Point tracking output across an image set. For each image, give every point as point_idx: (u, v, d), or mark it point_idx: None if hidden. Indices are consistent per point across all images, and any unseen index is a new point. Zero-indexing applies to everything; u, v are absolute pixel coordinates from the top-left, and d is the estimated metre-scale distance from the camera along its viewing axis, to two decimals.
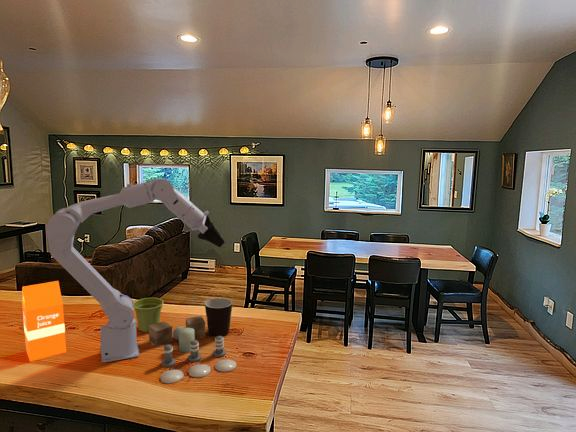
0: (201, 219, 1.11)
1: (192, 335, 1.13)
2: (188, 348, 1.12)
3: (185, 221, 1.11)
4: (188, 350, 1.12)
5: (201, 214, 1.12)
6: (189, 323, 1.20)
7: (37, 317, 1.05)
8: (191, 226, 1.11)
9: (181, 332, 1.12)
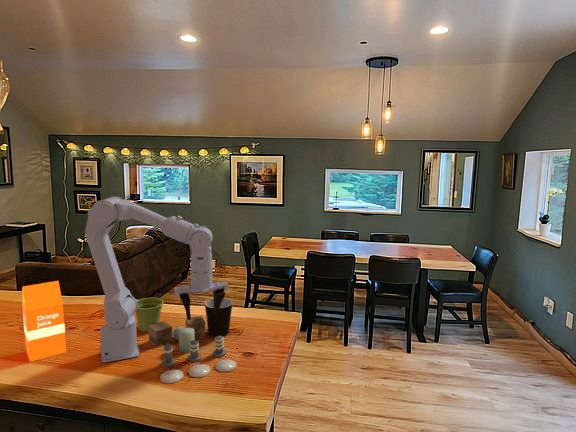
0: (193, 288, 1.08)
1: (192, 335, 1.13)
2: (188, 348, 1.12)
3: None
4: (188, 350, 1.12)
5: (197, 286, 1.07)
6: (189, 323, 1.20)
7: (37, 317, 1.05)
8: None
9: (181, 332, 1.12)
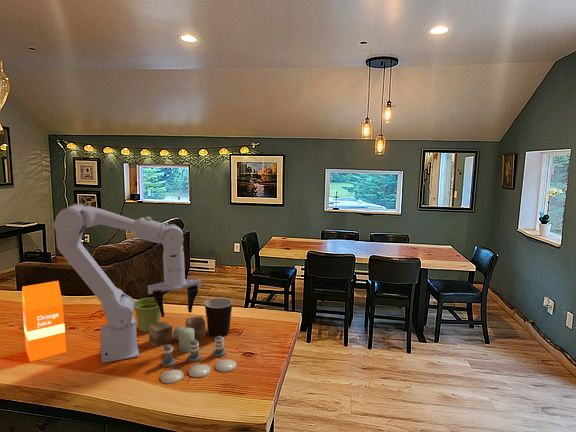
0: (165, 285, 1.10)
1: (192, 335, 1.13)
2: (188, 348, 1.12)
3: None
4: (188, 350, 1.12)
5: (169, 283, 1.09)
6: (189, 323, 1.20)
7: (37, 317, 1.05)
8: None
9: (181, 332, 1.13)
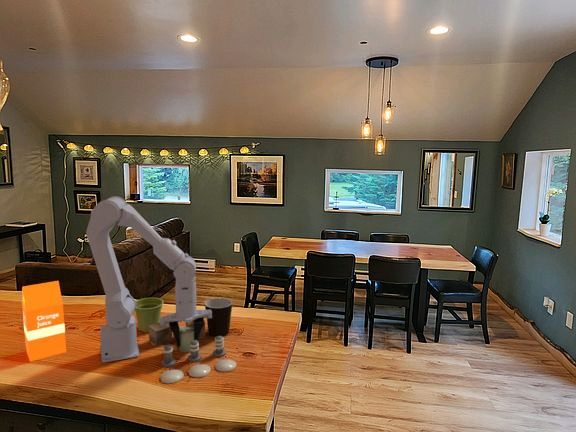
0: (177, 317, 1.10)
1: (192, 335, 1.13)
2: (188, 348, 1.12)
3: None
4: (188, 350, 1.12)
5: (181, 315, 1.10)
6: (189, 323, 1.20)
7: (37, 317, 1.05)
8: None
9: (181, 332, 1.12)
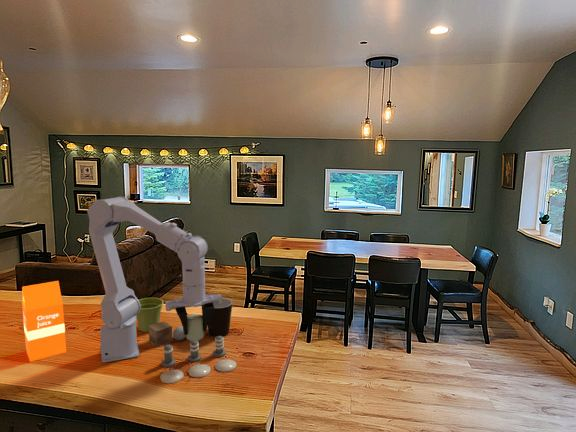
0: (185, 302, 1.02)
1: (201, 321, 1.04)
2: (197, 336, 1.04)
3: None
4: (197, 338, 1.04)
5: (189, 299, 1.01)
6: None
7: (37, 317, 1.05)
8: None
9: (189, 319, 1.04)
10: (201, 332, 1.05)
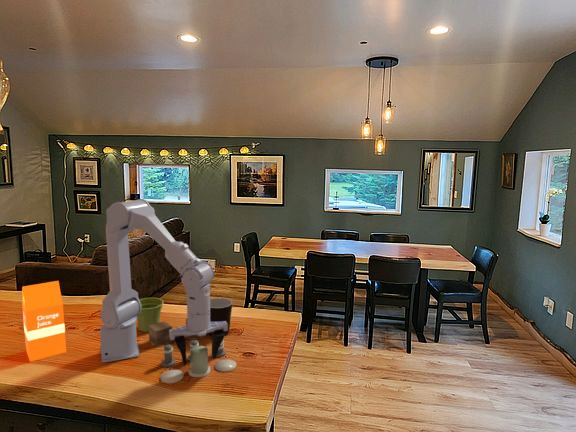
0: (189, 330, 0.98)
1: (206, 354, 1.01)
2: (201, 369, 1.01)
3: None
4: (201, 371, 1.01)
5: (194, 328, 0.98)
6: None
7: (37, 317, 1.05)
8: None
9: (193, 352, 1.01)
10: (206, 365, 1.02)
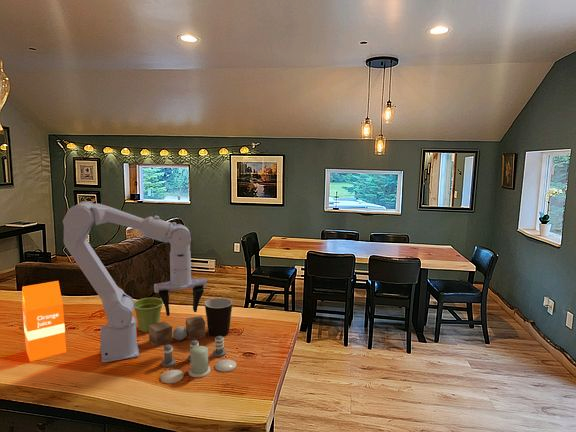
0: (172, 284, 1.10)
1: (206, 355, 1.01)
2: (201, 369, 1.01)
3: None
4: (201, 371, 1.01)
5: (176, 282, 1.10)
6: (189, 323, 1.20)
7: (37, 317, 1.05)
8: None
9: (193, 352, 1.01)
10: (206, 365, 1.02)
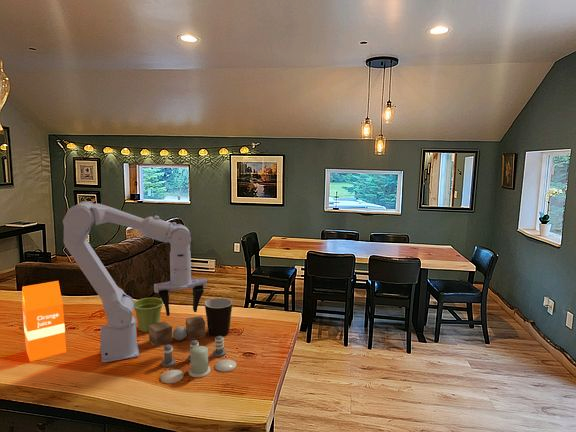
0: (172, 284, 1.10)
1: (206, 354, 1.01)
2: (201, 369, 1.01)
3: None
4: (201, 371, 1.01)
5: (176, 282, 1.10)
6: (189, 323, 1.20)
7: (37, 317, 1.05)
8: None
9: (193, 352, 1.01)
10: (206, 365, 1.02)
